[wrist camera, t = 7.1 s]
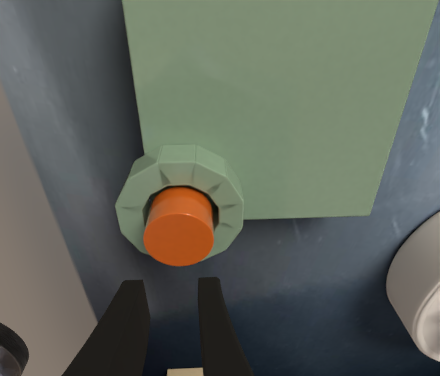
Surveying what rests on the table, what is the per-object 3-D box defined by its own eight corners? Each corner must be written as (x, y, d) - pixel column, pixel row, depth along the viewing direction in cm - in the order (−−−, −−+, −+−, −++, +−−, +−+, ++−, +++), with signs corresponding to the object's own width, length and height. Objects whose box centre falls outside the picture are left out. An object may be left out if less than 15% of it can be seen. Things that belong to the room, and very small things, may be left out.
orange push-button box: (143, 207, 20) (127, 264, 16) (101, -47, 13) (53, -63, 9) (343, 202, 21) (379, 256, 17) (407, -46, 14) (498, -61, 9)
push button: (153, 237, 16) (147, 267, 14) (145, 186, 14) (138, 214, 12) (213, 235, 16) (214, 265, 14) (212, 185, 14) (213, 212, 12)
